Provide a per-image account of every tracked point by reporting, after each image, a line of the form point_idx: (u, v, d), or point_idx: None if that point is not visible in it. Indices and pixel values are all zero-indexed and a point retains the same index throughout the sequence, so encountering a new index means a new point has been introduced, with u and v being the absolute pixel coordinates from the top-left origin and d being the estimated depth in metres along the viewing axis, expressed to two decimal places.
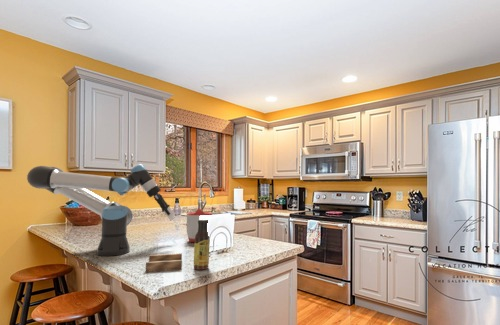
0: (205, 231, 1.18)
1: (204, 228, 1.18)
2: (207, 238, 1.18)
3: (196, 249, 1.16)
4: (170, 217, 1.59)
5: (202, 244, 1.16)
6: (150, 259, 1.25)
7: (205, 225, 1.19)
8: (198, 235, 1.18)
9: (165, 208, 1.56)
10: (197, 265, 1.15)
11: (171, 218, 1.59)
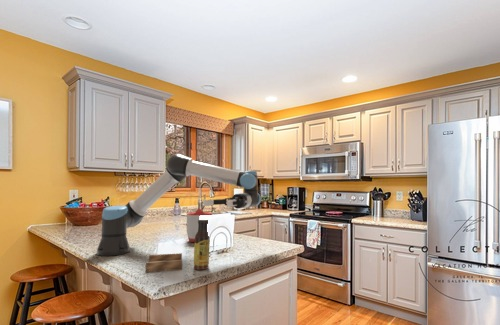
0: (205, 231, 1.18)
1: (204, 228, 1.18)
2: (207, 238, 1.18)
3: (196, 249, 1.16)
4: (230, 202, 1.27)
5: (202, 244, 1.16)
6: (150, 259, 1.25)
7: (205, 225, 1.19)
8: (198, 235, 1.18)
9: (242, 203, 1.30)
10: (197, 265, 1.15)
11: (229, 202, 1.26)
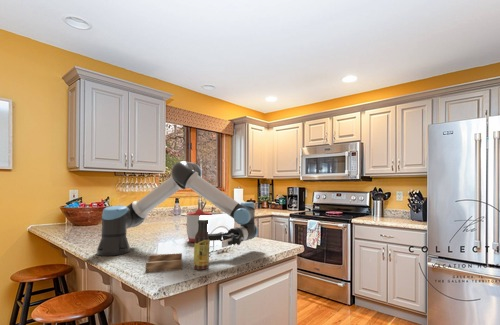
0: (205, 231, 1.18)
1: (204, 228, 1.18)
2: (207, 238, 1.18)
3: (196, 249, 1.16)
4: (225, 242, 1.20)
5: (202, 244, 1.16)
6: (150, 259, 1.25)
7: (205, 225, 1.19)
8: (198, 235, 1.18)
9: (238, 243, 1.24)
10: (197, 265, 1.15)
11: (224, 243, 1.20)
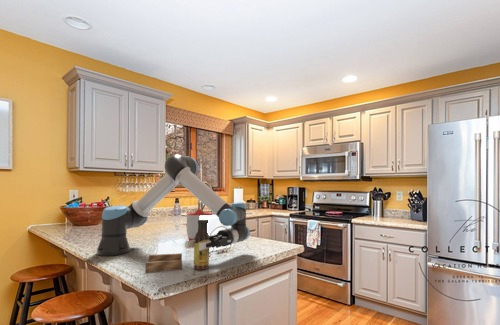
0: (205, 231, 1.18)
1: (204, 228, 1.18)
2: (207, 238, 1.18)
3: (196, 249, 1.16)
4: (203, 245, 1.14)
5: None
6: (150, 259, 1.25)
7: (205, 225, 1.19)
8: (198, 235, 1.18)
9: (217, 245, 1.18)
10: (197, 265, 1.15)
11: (201, 245, 1.13)
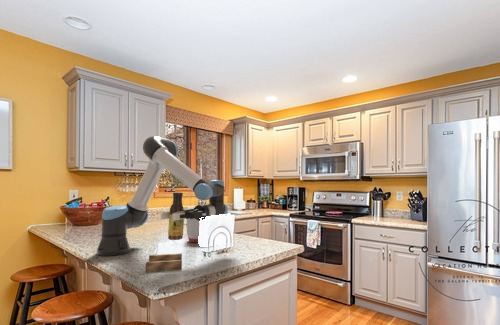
0: (180, 203, 1.22)
1: (179, 200, 1.22)
2: (181, 210, 1.21)
3: (170, 220, 1.20)
4: (176, 215, 1.17)
5: None
6: (150, 259, 1.25)
7: (180, 197, 1.22)
8: (172, 207, 1.21)
9: (191, 217, 1.21)
10: (171, 235, 1.19)
11: (175, 216, 1.17)
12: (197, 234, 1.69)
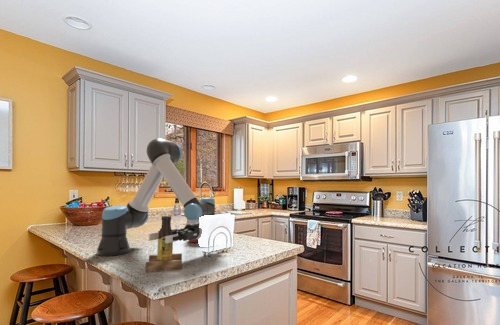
0: (168, 227, 1.22)
1: (167, 224, 1.22)
2: (170, 234, 1.21)
3: (159, 244, 1.20)
4: (169, 238, 1.17)
5: None
6: (150, 259, 1.25)
7: (168, 221, 1.22)
8: (161, 231, 1.21)
9: (184, 238, 1.21)
10: (160, 260, 1.19)
11: (168, 238, 1.17)
12: None
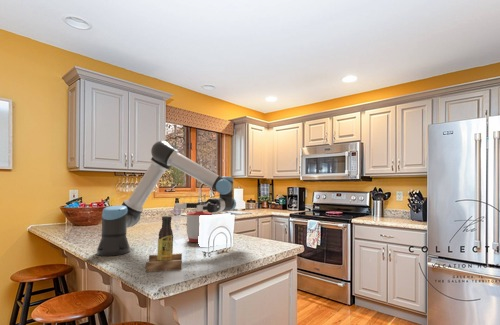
0: (168, 227, 1.22)
1: (167, 224, 1.22)
2: (170, 234, 1.21)
3: (159, 244, 1.20)
4: (200, 207, 1.32)
5: (165, 240, 1.20)
6: (150, 259, 1.25)
7: (168, 221, 1.22)
8: (161, 231, 1.21)
9: (212, 209, 1.35)
10: (160, 260, 1.19)
11: (199, 207, 1.31)
12: (197, 234, 1.69)
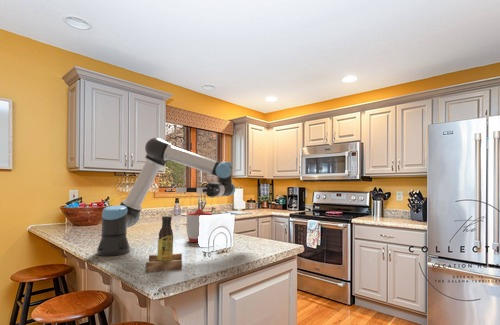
0: (168, 227, 1.22)
1: (167, 224, 1.22)
2: (170, 234, 1.21)
3: (159, 244, 1.20)
4: (200, 189, 1.34)
5: (165, 240, 1.20)
6: (150, 259, 1.25)
7: (169, 221, 1.22)
8: (161, 231, 1.21)
9: (212, 191, 1.38)
10: (160, 260, 1.19)
11: (199, 189, 1.33)
12: (197, 234, 1.69)
